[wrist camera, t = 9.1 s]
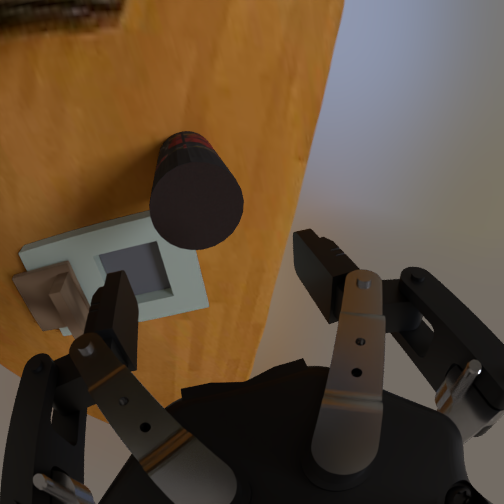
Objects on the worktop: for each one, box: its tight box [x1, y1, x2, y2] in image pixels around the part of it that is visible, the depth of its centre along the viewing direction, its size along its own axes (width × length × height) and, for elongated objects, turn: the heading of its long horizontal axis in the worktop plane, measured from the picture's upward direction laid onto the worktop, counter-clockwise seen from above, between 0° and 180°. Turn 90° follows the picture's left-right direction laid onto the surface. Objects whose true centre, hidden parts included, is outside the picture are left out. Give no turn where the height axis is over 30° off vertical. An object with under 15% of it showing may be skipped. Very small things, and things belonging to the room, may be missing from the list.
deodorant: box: [149, 131, 244, 250], centre depth 25 cm, size 6×6×15 cm
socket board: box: [19, 210, 209, 336], centre depth 35 cm, size 14×22×2 cm, turn 97°
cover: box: [12, 260, 90, 339], centre depth 30 cm, size 9×9×5 cm
